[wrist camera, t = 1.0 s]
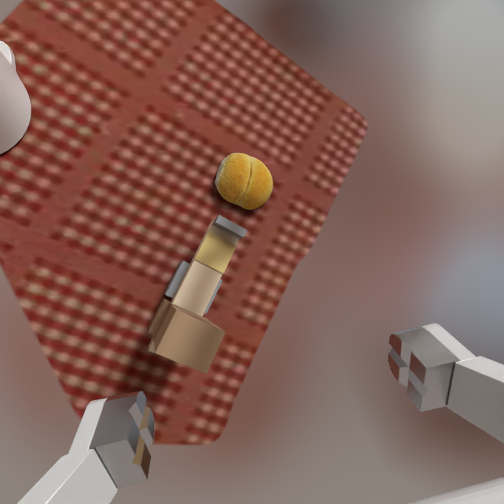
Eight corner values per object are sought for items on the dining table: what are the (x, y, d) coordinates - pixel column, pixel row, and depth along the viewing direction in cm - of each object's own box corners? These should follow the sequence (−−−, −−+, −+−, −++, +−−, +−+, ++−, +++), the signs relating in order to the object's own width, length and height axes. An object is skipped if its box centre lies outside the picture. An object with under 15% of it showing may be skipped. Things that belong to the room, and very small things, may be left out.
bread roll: (260, 216, 49) (270, 211, 46) (208, 196, 47) (214, 188, 43) (274, 171, 51) (284, 162, 47) (225, 148, 48) (231, 137, 45)
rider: (147, 327, 38) (148, 350, 26) (163, 298, 39) (170, 307, 27) (192, 346, 40) (212, 376, 28) (206, 317, 40) (231, 334, 29)
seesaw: (141, 336, 42) (140, 351, 33) (199, 223, 46) (212, 211, 37) (181, 352, 44) (189, 371, 35) (234, 242, 47) (253, 234, 39)
